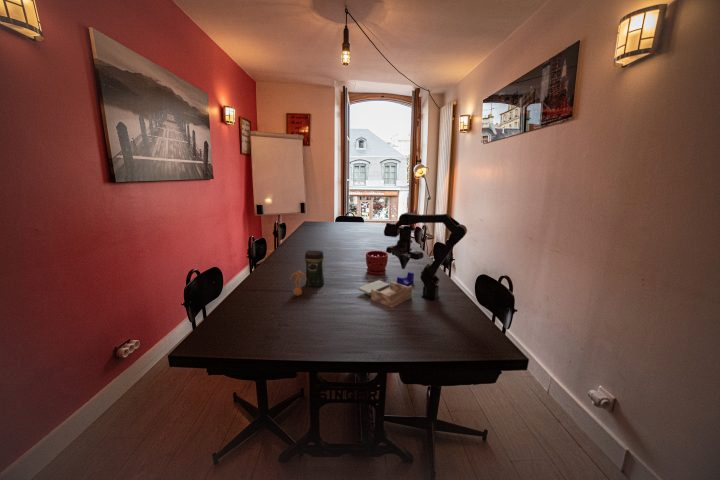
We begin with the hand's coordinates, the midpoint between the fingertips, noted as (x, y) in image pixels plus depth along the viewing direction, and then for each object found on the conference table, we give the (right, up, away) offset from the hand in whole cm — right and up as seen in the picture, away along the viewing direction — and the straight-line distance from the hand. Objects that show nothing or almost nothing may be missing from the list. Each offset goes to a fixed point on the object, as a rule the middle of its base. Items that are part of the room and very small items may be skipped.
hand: (403, 268), depth 148 cm
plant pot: (-12, -5, +31) cm, 33 cm away
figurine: (-52, -12, -4) cm, 53 cm away
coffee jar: (-46, -9, +9) cm, 48 cm away
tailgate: (-12, -10, -2) cm, 16 cm away
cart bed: (-7, -13, -6) cm, 16 cm away
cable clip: (+2, -10, +12) cm, 16 cm away
